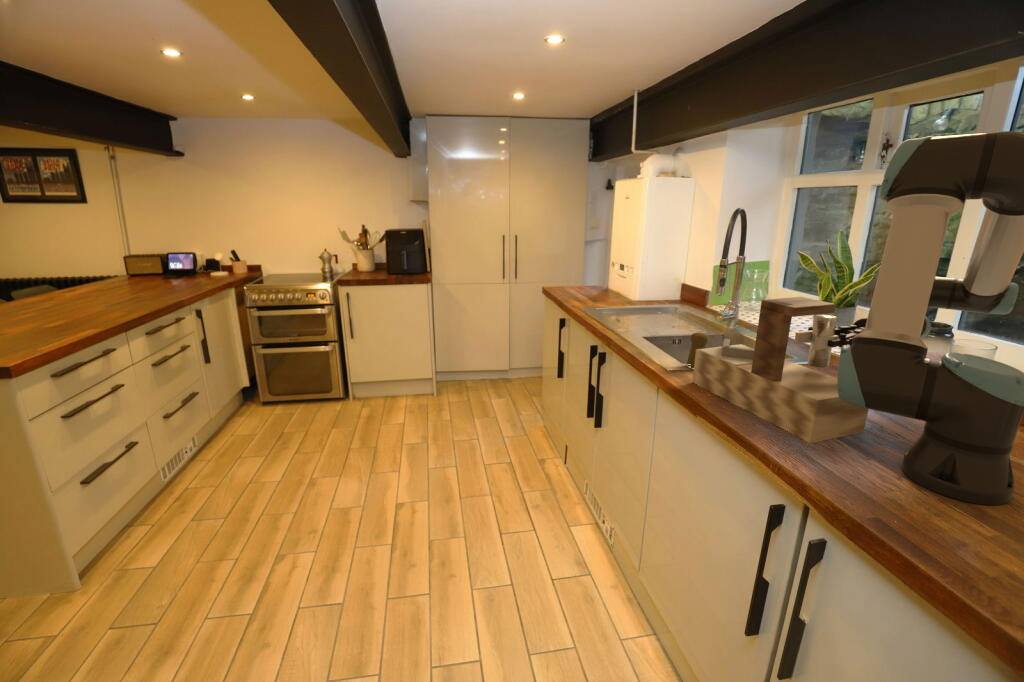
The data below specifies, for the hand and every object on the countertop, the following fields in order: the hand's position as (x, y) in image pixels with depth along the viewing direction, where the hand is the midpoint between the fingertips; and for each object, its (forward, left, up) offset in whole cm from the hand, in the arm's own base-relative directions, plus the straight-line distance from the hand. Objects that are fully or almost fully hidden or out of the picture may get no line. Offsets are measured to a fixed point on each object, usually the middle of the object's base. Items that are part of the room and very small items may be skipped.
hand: (805, 340), depth 111 cm
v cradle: (+13, +10, -8) cm, 19 cm away
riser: (+4, +5, -18) cm, 19 cm away
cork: (+31, +18, -19) cm, 40 cm away
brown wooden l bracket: (-2, +4, -8) cm, 9 cm away
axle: (+2, -5, -7) cm, 8 cm away
